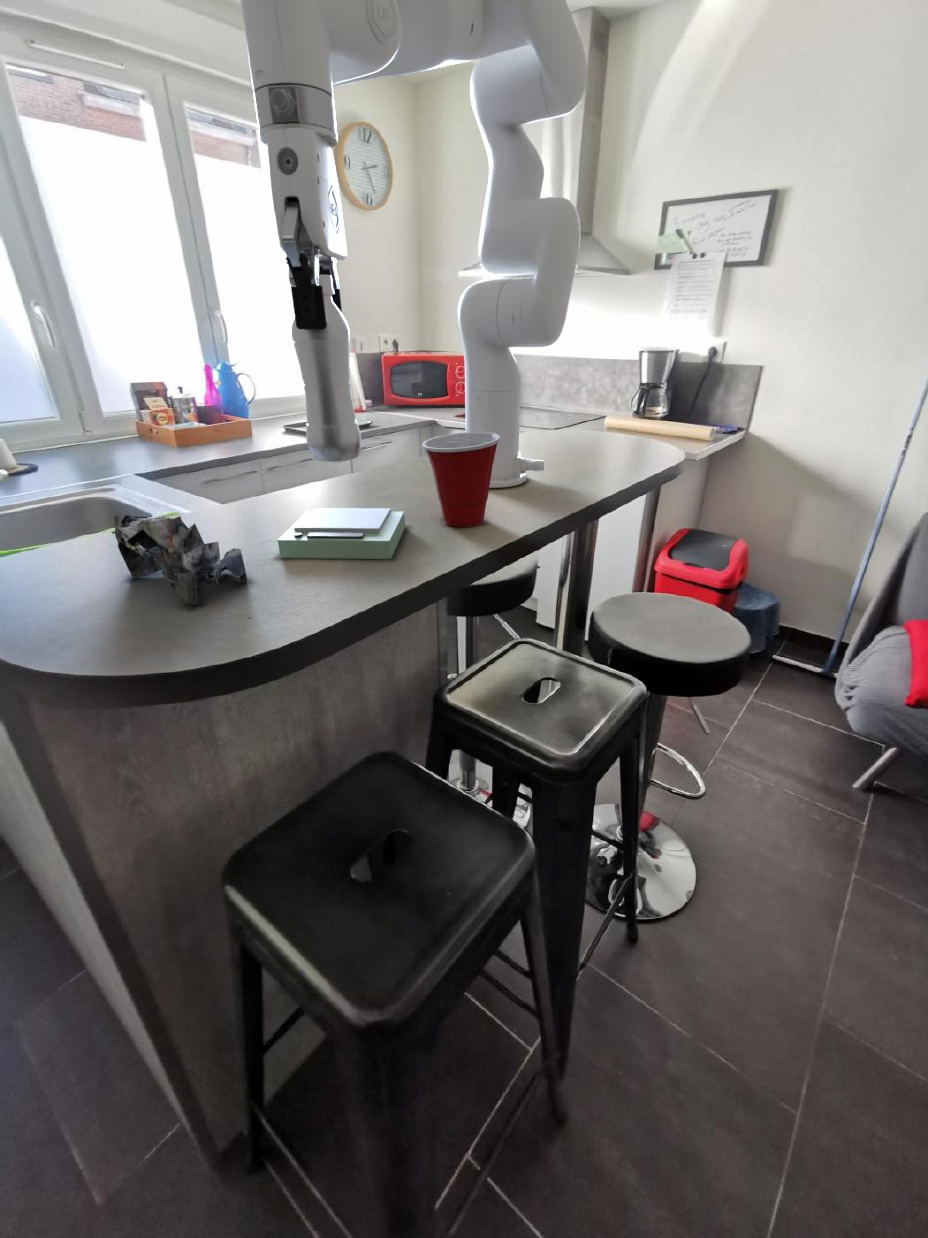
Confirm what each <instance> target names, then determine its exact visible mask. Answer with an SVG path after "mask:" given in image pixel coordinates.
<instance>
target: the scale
mask: <svg viewBox="0 0 928 1238" xmlns="http://www.w3.org/2000/svg"><path fill="white" fill-rule="evenodd" d="M405 517H406V516H405V511H403V510H402V511H400V510H399V511H397V510H396V511H393V510H392V509H391V508H389V507H313V508H312V509H311V510H306V511H305V512H304V513H303V514H302V515H301V516H300V517H299V518H298V519H297V520H296V521H295V522H294V523H293V524H292V525H291V526H290V527H289V528H288V529H287V530H286V531H285V532H284V533H283V534H282V535H281V536H280V537H279V538H278V539H277V544H278V551H279V557H280V559H341V560H342V559H344V560H345V559H346V560H347V559H349V560H350V559H351V560H352V559H353V560H391V559H392V558H393V555H394V553H395V550H396V549H397V546H398V545H399V542H400V540H401V537H402V536H403V533H404V531H405V529H406V520H405Z"/></svg>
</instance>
